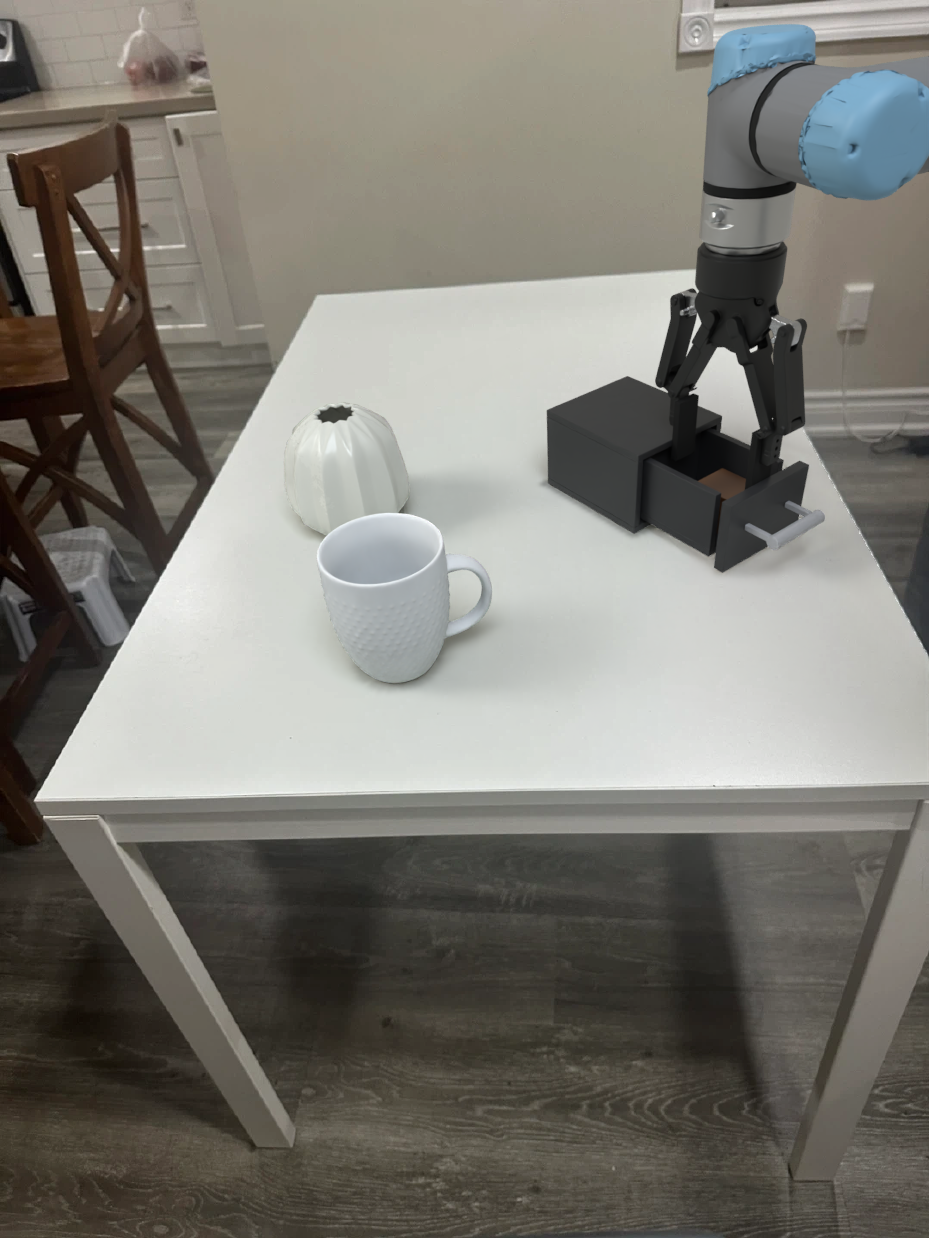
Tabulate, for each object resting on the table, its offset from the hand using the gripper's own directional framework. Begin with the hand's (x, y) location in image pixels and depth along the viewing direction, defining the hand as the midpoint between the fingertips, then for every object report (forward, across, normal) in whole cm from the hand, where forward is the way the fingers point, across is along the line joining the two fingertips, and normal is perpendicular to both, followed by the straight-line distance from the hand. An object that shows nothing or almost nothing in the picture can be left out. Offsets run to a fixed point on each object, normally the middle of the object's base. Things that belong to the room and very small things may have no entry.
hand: (718, 471), depth 89 cm
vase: (+7, -30, -28) cm, 41 cm away
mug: (+8, -5, -36) cm, 37 cm away
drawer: (+7, +2, 0) cm, 7 cm away
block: (+5, +1, 0) cm, 6 cm away
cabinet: (+7, -13, 0) cm, 15 cm away
